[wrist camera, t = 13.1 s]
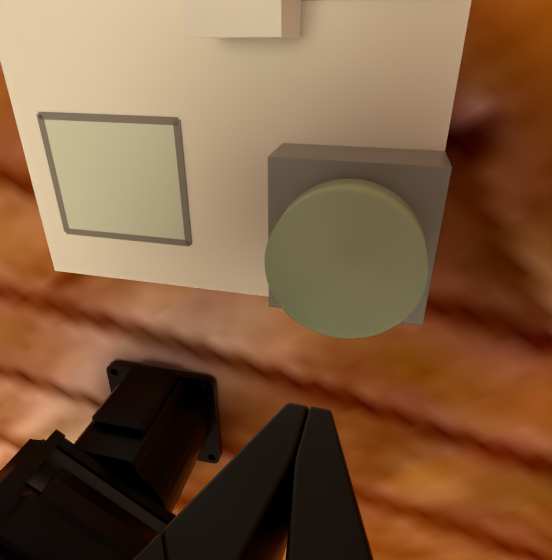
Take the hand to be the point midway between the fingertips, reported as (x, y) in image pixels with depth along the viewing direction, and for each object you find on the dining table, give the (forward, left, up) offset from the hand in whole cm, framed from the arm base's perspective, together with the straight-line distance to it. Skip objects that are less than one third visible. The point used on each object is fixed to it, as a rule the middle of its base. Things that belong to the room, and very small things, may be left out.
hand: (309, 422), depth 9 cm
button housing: (0, 0, -12) cm, 12 cm away
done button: (0, 0, -11) cm, 11 cm away
